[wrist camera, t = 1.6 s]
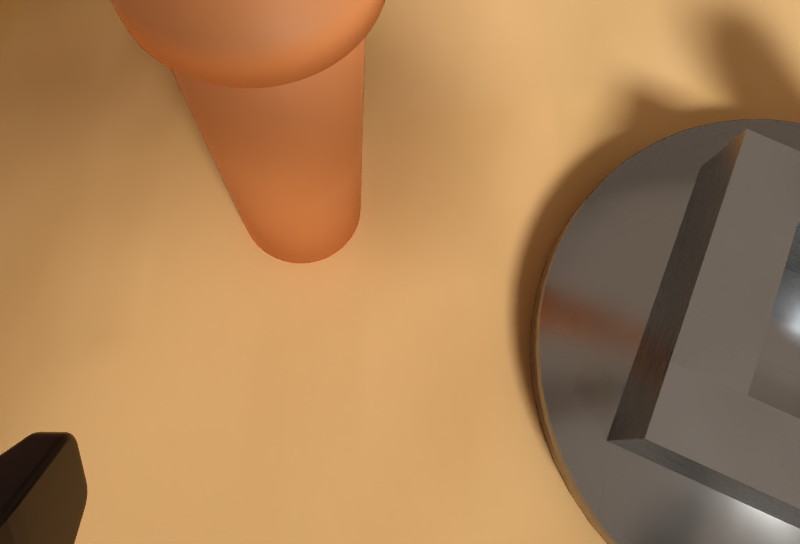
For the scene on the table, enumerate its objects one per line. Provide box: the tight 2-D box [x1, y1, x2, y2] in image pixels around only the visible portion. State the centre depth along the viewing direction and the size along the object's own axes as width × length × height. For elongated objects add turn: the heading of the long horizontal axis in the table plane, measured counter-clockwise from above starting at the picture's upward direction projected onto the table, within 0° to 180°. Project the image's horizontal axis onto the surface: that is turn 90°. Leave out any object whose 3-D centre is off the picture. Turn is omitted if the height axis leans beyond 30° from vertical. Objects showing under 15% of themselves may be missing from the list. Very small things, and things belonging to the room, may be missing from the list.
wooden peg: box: [111, 0, 385, 263], centre depth 17 cm, size 5×5×13 cm
